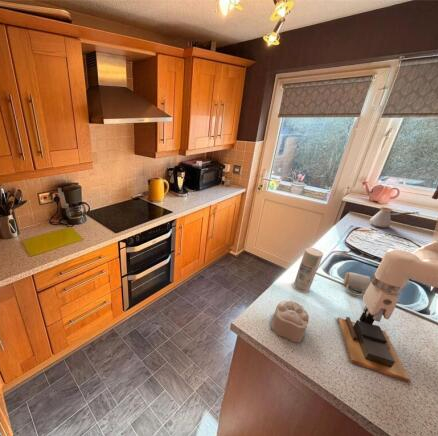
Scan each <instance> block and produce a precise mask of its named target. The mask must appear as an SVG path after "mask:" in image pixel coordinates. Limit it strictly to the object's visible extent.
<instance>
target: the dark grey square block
mask: <svg viewBox="0 0 438 436" xmlns="http://www.w3.org/2000/svg"><path fill="white" fill-rule="evenodd" d="M355 322H356V323H355V325H354V330H355V333H356V335H357V338H358V339H357V340H358V342H359V340H360V338H361V336H363V337H366V338H370V339H373V340H376V341H379V342H383V343H386V342H387V340H386V338H385V336H384V334H383V332H382V328H381V327H380V326H379V325H377V324H369V323H365V322H362V321H360V320H359V319H356V320H355ZM376 325H377V326H376Z"/></svg>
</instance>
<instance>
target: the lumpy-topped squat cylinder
mask: <svg viewBox="0 0 438 436" xmlns="http://www.w3.org/2000/svg"><path fill="white" fill-rule="evenodd" d="M309 322H310V319H309V314H308V312H307V311H306V309H305V308H304V307H303V306H302V305H301V304H299V303H298V302H296V301H292V300H283V301H280V302H278V303H277V304H276V307H275V311H274V314H273V317H272V321H271V330H272V331H273V332H274V333H275V334H276V335H278V336H281V337H283V338H286V339H288V340H289V341H291V342H293V343H300V342H301V341H302V340H303V337H304V335H305V332H306V330H307V328H308V325H309Z"/></svg>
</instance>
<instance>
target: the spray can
mask: <svg viewBox="0 0 438 436" xmlns="http://www.w3.org/2000/svg"><path fill="white" fill-rule="evenodd" d="M323 256H324V253H323V252H322V251H321V250H319V249H317V248H315V247H305V249H304V252H303V254H302V258H301V261H300V264H299V267H298V270H297V274H296V276H295V279H294V282H293V287H294V289H295V290H297V291H298V292H301V293H308V292H309V291H310V289H311V286H312V284H313V282H314V279H315V276H316V274H317V271H318V268H319V267H320V264H321V261H322V259H323Z"/></svg>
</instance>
